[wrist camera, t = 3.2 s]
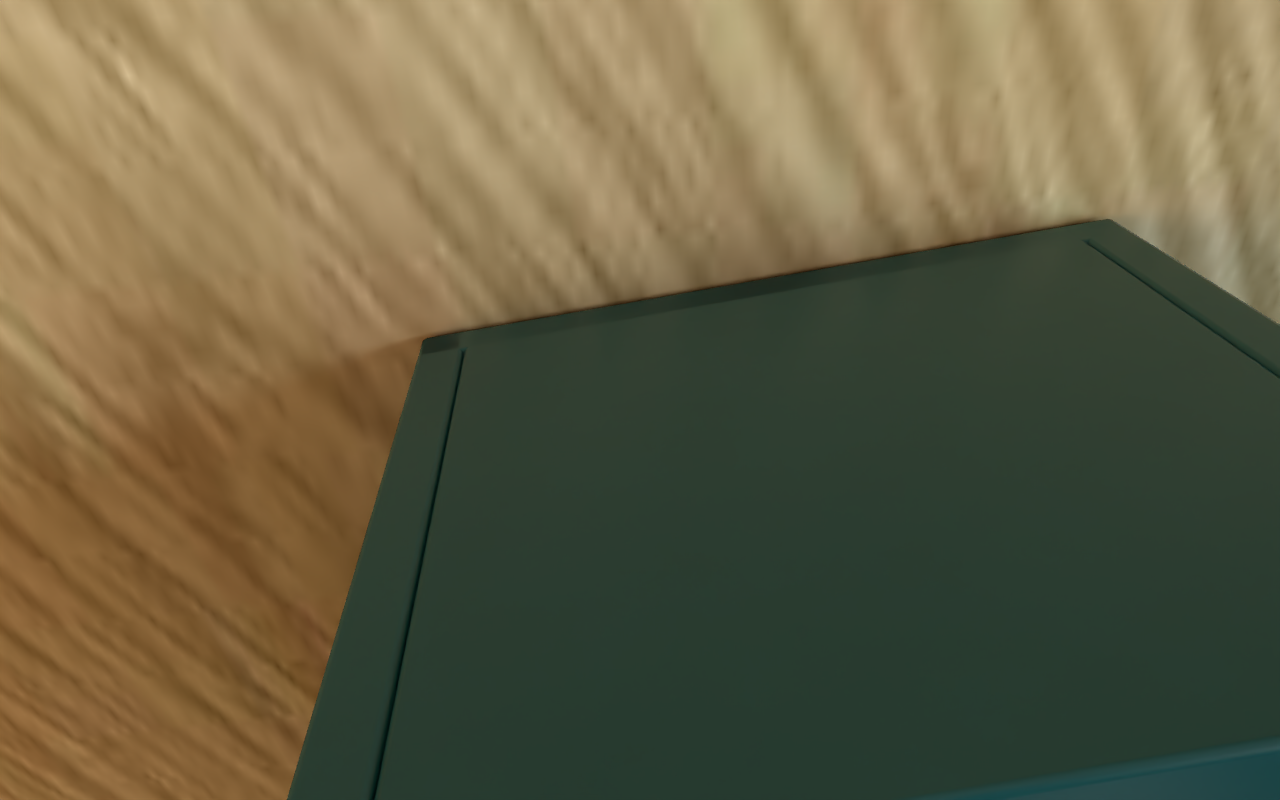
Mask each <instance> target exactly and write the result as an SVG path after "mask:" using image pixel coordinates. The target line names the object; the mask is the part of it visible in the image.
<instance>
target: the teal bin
mask: <svg viewBox="0 0 1280 800" xmlns="http://www.w3.org/2000/svg"><path fill="white" fill-rule="evenodd" d="M287 800H1280V325H1279V324H1278V323H1276V322H1274V321H1273V320H1271V319H1270V318H1268V317H1266V316H1265V315H1263V314H1262V313H1260V312H1258V311H1257V310H1255V309H1254V308H1252V307H1250V306H1249V305H1247V304H1246V303H1244V302H1242V301H1241V300H1239V299H1238V298H1236V297H1234V296H1233V295H1231V294H1230V293H1228V292H1226V291H1225V290H1223V289H1222V288H1220V287H1218V286H1217V285H1215V284H1214V283H1212V282H1210V281H1209V280H1207V279H1206V278H1204V277H1202V276H1201V275H1199V274H1198V273H1196V272H1194V271H1193V270H1191V269H1190V268H1188V267H1186V266H1185V265H1183V264H1182V263H1180V262H1178V261H1177V260H1175V259H1174V258H1172V257H1170V256H1169V255H1167V254H1166V253H1164V252H1162V251H1161V250H1159V249H1158V248H1156V247H1154V246H1153V245H1151V244H1150V243H1148V242H1146V241H1145V240H1143V239H1142V238H1140V237H1138V236H1137V235H1135V234H1134V233H1132V232H1130V231H1129V230H1127V229H1126V228H1124V227H1122V226H1121V225H1119V224H1118V223H1116V222H1114V221H1113V220H1110V219H1105V220H1099V221H1094V222H1088V223H1082V224H1077V225H1071V226H1065V227H1060V228H1054V229H1048V230H1042V231H1037V232H1031V233H1025V234H1020V235H1014V236H1008V237H1002V238H997V239H991V240H985V241H980V242H974V243H968V244H963V245H957V246H951V247H945V248H940V249H934V250H928V251H923V252H917V253H911V254H905V255H900V256H894V257H888V258H883V259H877V260H871V261H865V262H860V263H854V264H848V265H843V266H837V267H831V268H826V269H820V270H814V271H808V272H803V273H797V274H791V275H786V276H780V277H774V278H768V279H763V280H757V281H751V282H746V283H740V284H734V285H729V286H723V287H717V288H711V289H706V290H700V291H694V292H689V293H683V294H677V295H671V296H666V297H660V298H654V299H649V300H643V301H637V302H632V303H626V304H620V305H614V306H609V307H603V308H597V309H592V310H586V311H580V312H574V313H569V314H563V315H557V316H552V317H546V318H540V319H534V320H529V321H523V322H517V323H512V324H506V325H500V326H495V327H489V328H483V329H477V330H472V331H466V332H460V333H455V334H449V335H443V336H437V337H432V338H427V339H425V340H423V343H422V346H421V350H420V353H419V356H418V360H417V363H416V366H415V370H414V373H413V376H412V380H411V383H410V387H409V390H408V393H407V397H406V400H405V403H404V407H403V410H402V414H401V417H400V420H399V424H398V427H397V430H396V434H395V437H394V441H393V444H392V447H391V451H390V454H389V457H388V461H387V464H386V467H385V471H384V474H383V478H382V481H381V484H380V488H379V491H378V494H377V498H376V501H375V505H374V508H373V511H372V515H371V518H370V521H369V525H368V528H367V532H366V535H365V538H364V542H363V545H362V548H361V552H360V555H359V559H358V562H357V565H356V569H355V572H354V575H353V579H352V582H351V585H350V589H349V592H348V596H347V599H346V602H345V606H344V609H343V612H342V616H341V619H340V623H339V626H338V629H337V633H336V636H335V639H334V643H333V646H332V650H331V653H330V656H329V660H328V663H327V666H326V670H325V673H324V676H323V680H322V683H321V687H320V690H319V693H318V697H317V700H316V703H315V707H314V710H313V714H312V717H311V720H310V724H309V727H308V730H307V734H306V737H305V741H304V744H303V747H302V751H301V754H300V757H299V761H298V764H297V767H296V771H295V774H294V778H293V781H292V784H291V788H290V791H289V794H288V798H287Z"/></svg>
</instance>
